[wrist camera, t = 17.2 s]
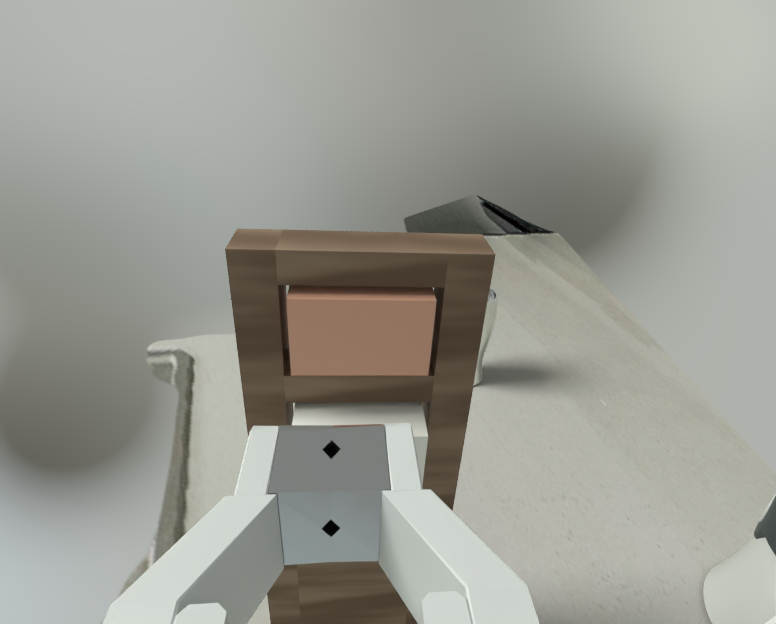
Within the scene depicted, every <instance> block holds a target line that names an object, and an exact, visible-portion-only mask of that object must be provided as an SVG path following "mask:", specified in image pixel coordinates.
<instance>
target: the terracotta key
mask: <svg viewBox="0 0 776 624" xmlns="http://www.w3.org/2000/svg"><path fill="white" fill-rule="evenodd" d="M286 301H287V317H288V334H289V351H290V367H291V376H428V374H429V365H430V356H431V347H432V338H433V329H434V320H435V311H436V302H437V301H436V297H435V294H434V291H433V288H432V287H373V286H305V285H290V286H289V290H288V294H287V298H286Z"/></svg>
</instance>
